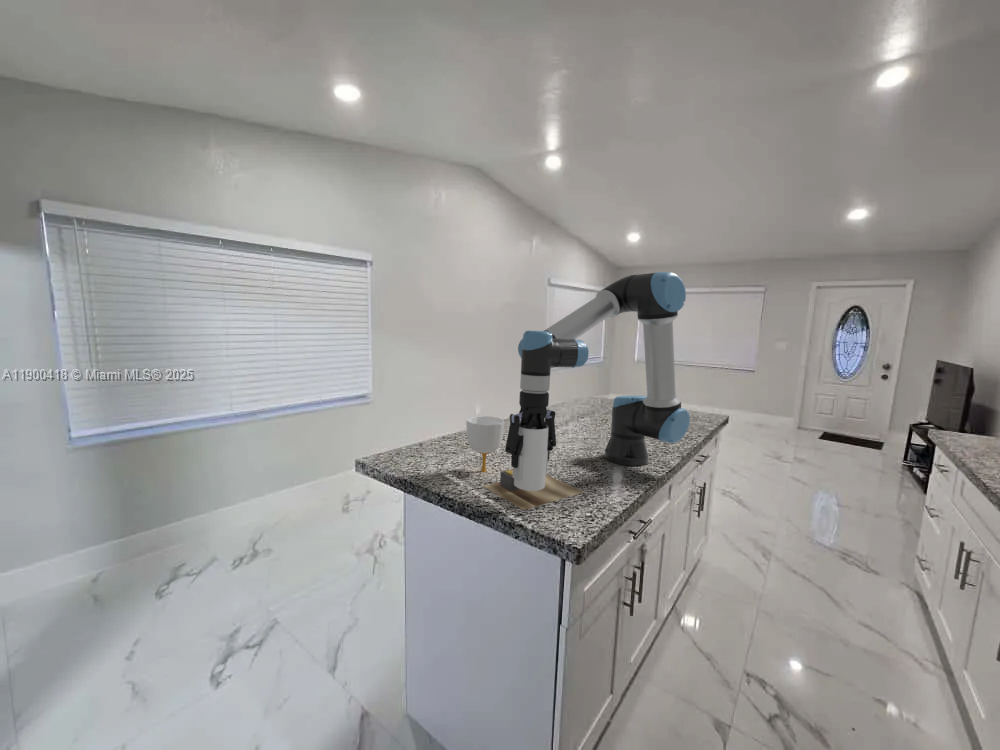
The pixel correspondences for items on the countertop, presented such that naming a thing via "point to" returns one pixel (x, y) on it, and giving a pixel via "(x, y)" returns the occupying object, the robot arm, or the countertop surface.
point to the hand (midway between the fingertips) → (529, 475)
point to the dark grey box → (508, 480)
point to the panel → (535, 493)
